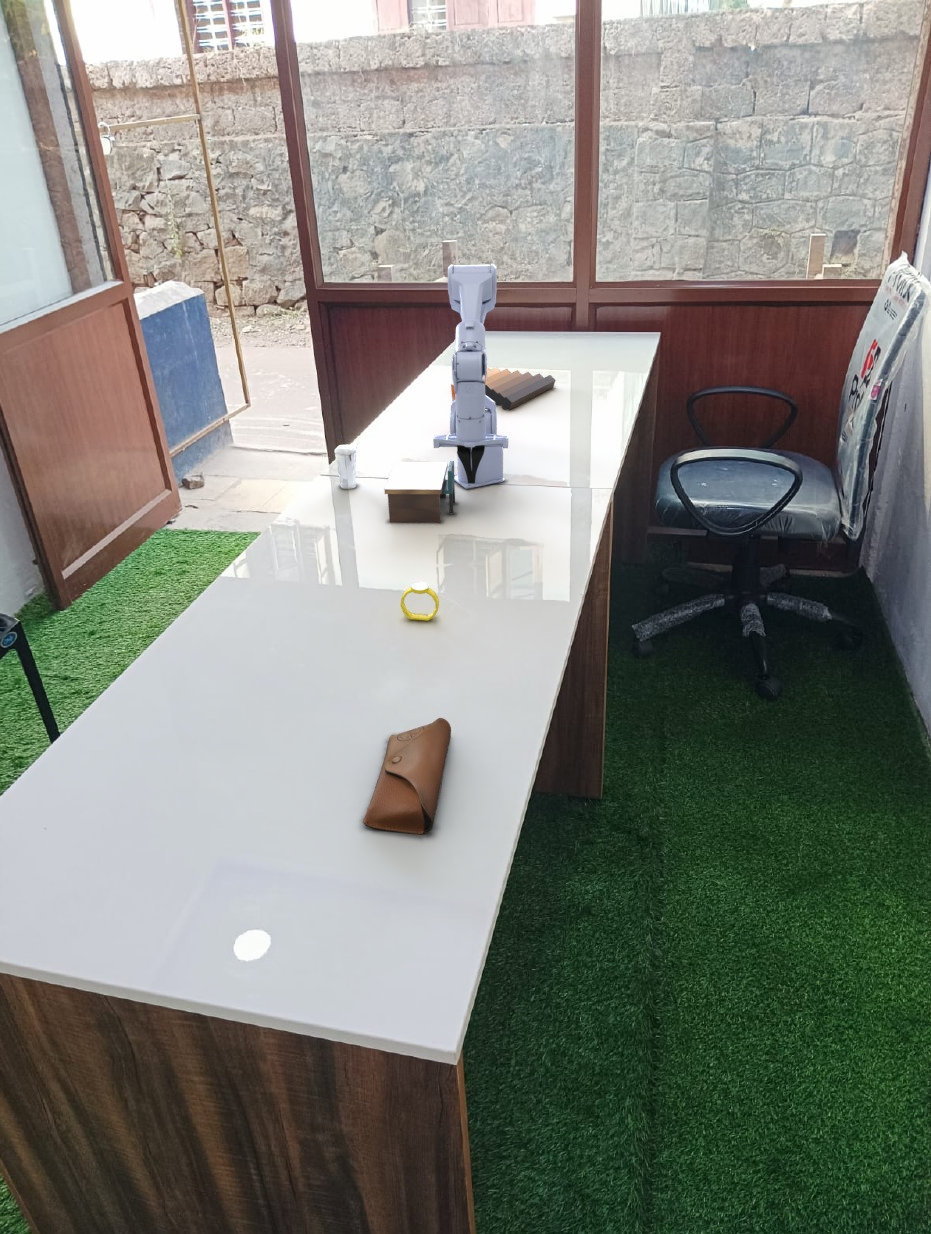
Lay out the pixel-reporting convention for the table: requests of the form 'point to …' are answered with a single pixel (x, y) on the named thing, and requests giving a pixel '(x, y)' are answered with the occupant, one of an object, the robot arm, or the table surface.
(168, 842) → the table surface
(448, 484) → the chair
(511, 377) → the pan flute
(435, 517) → the desk
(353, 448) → the milkshake
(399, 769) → the sunglasses case
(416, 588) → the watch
